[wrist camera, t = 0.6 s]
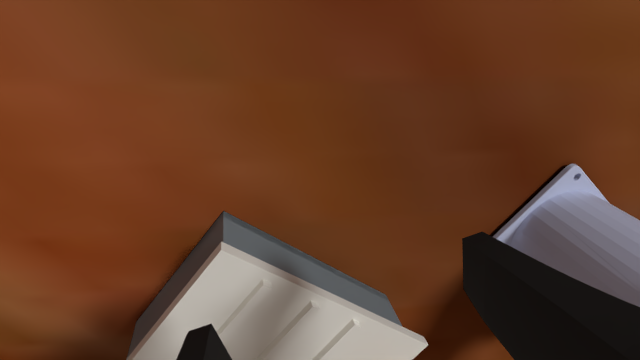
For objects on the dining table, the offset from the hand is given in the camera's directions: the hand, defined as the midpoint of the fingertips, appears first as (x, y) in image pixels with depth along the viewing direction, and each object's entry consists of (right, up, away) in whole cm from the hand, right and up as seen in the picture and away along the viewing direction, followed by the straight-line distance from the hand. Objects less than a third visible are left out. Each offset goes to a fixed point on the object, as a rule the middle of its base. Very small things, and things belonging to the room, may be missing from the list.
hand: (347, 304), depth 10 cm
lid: (-3, -6, +12) cm, 13 cm away
